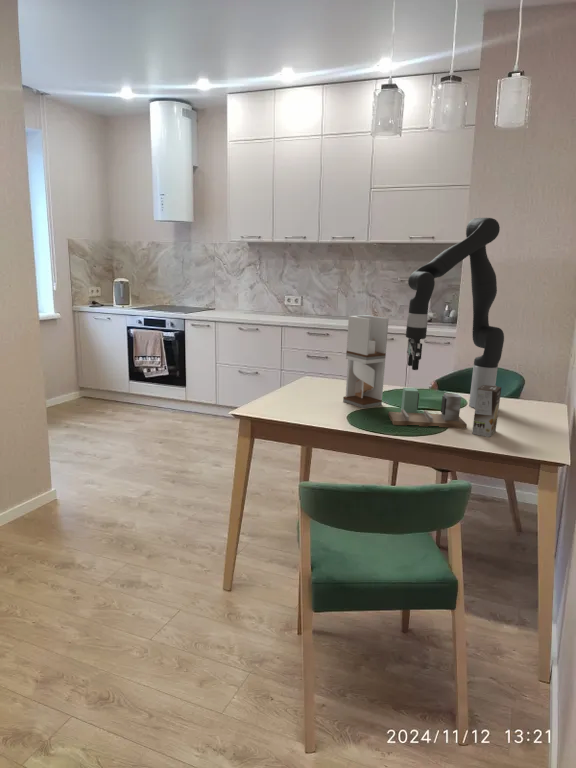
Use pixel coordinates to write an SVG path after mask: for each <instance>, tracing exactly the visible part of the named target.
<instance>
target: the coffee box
mask: <svg viewBox="0 0 576 768" xmlns="http://www.w3.org/2000/svg"><path fill="white" fill-rule="evenodd" d="M501 394H502V387H501V386H497V385H496V386H490V385H489V386H488V385H483V386H481V387H480V388H478V390H477V398H476V406H475V408H474V415H473V422H472V430H471V431H472V432H471V434H473V435H477V436H478V435H479V436H482V437H487V438H491V437H492V435H494V434H495V432H496V430H497V426H498V425H497V424H498V417H499V416H498V415H499V409H500V400H501Z"/></svg>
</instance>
